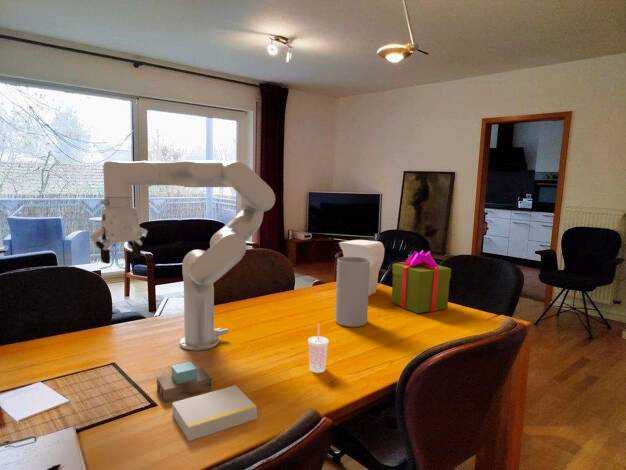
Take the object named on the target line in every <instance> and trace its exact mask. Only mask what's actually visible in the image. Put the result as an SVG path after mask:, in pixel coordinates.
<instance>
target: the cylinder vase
mask: <svg viewBox="0 0 626 470" xmlns="http://www.w3.org/2000/svg"><path fill="white" fill-rule="evenodd" d="M369 269H370V260H369V259H366V258H361V257H344V256H341V257H338V258H337V261H336V285H335V289H336V291H335V317H334V319H335V322H336V324H338V325H340V326H343V327H348V328H349V327H350V328H359V327H362V326H363V327H364V326H365V325H366V324H367V322H368V312H369V311H368V310H369V309H368V308H369V307H368V305H369V296H368V290H369Z"/></svg>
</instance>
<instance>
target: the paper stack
mask: <svg viewBox="0 0 626 470" xmlns="http://www.w3.org/2000/svg"><path fill="white" fill-rule="evenodd" d="M337 244H338V245H339V247H340V250H342V255H343V257H361V258H366V259H369V260H370V269H369V290H368V297H369V296H371V295H372V294H375V293H376V292H377V288H378V281H379V271H380V269H381V268H382V264H383V262H384V259H385V258H384V257H385V250H386V249H385V246H384V244H383V243H382V241H377V240H368V239H367V240H366V239H352V240H346V241H340V242H338V243H337Z"/></svg>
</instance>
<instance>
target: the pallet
mask: <svg viewBox="0 0 626 470" xmlns="http://www.w3.org/2000/svg"><path fill="white" fill-rule="evenodd" d="M196 368H197V380H193V381H189V382H185V383H181V384H177V383H176V382H175V380H174V379H173V378H172V373H171V374H166V375H162V376H159V377H156V390H157V392H158V393H159V395H160V398H162V401H163V402H164V403H169V402H175V401H176V400H177V401H178V400H180V399H181V400H182V399H186V398H187V397H188V398H189V397H193V396H197V395H200V394H204V393H208V392H212V389H213V388H212V380H213V379H212V377H211V375H210V374H209V373H207V371H206V370H205V369H204V368H203V367H196Z"/></svg>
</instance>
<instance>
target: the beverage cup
mask: <svg viewBox="0 0 626 470" xmlns="http://www.w3.org/2000/svg"><path fill="white" fill-rule="evenodd" d="M329 342H330V341H329V338H328V337H324V336H320V322H319V323H317V336H310V337H308V339H307V344H308V353H309V354H308V357H309V360H308V361H309V371H310V372H312V373H316V374H317V373H318V374H319V373H323V372H325V371H326V363H327V353H328V345H329Z"/></svg>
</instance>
